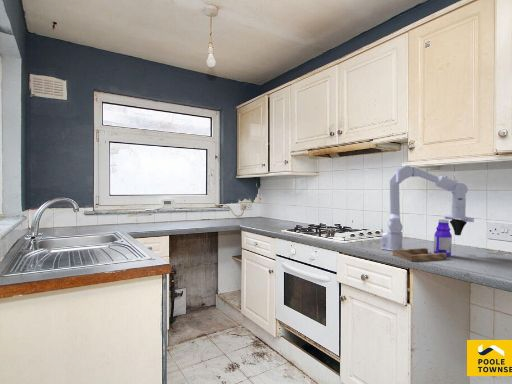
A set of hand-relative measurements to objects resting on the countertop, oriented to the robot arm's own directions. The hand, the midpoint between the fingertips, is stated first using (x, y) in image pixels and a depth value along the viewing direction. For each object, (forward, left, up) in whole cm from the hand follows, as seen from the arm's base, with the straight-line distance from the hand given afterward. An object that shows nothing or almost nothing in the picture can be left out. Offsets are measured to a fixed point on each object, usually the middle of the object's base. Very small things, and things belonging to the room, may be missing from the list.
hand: (457, 235), depth 147 cm
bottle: (-5, -8, -10) cm, 13 cm away
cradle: (-11, -20, -10) cm, 25 cm away
